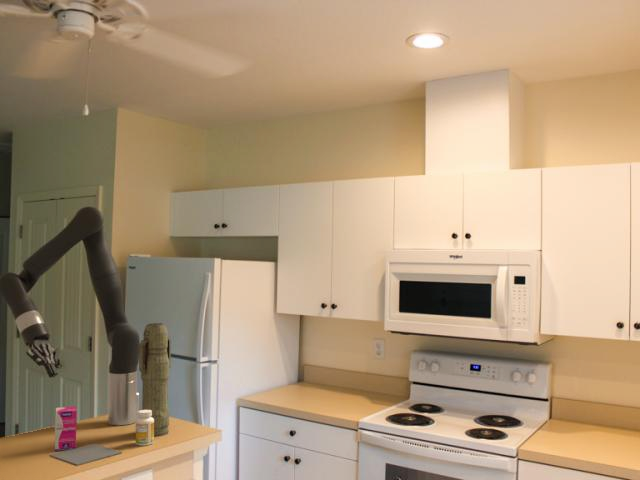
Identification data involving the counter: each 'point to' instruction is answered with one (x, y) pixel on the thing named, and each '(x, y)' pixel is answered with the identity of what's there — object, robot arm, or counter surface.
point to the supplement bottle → (144, 428)
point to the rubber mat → (85, 454)
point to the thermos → (155, 374)
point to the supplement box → (65, 428)
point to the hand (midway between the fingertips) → (54, 376)
